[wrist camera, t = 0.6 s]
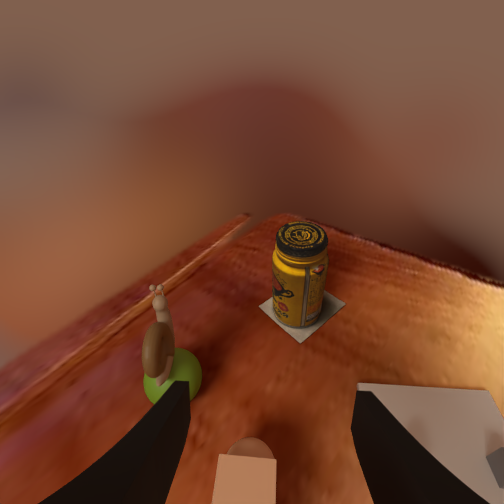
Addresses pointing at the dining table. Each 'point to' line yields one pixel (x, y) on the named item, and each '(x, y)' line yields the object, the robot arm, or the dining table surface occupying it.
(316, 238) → the condiment
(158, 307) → the snail figurine
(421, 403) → the cradle jig
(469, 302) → the dining table surface
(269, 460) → the block
